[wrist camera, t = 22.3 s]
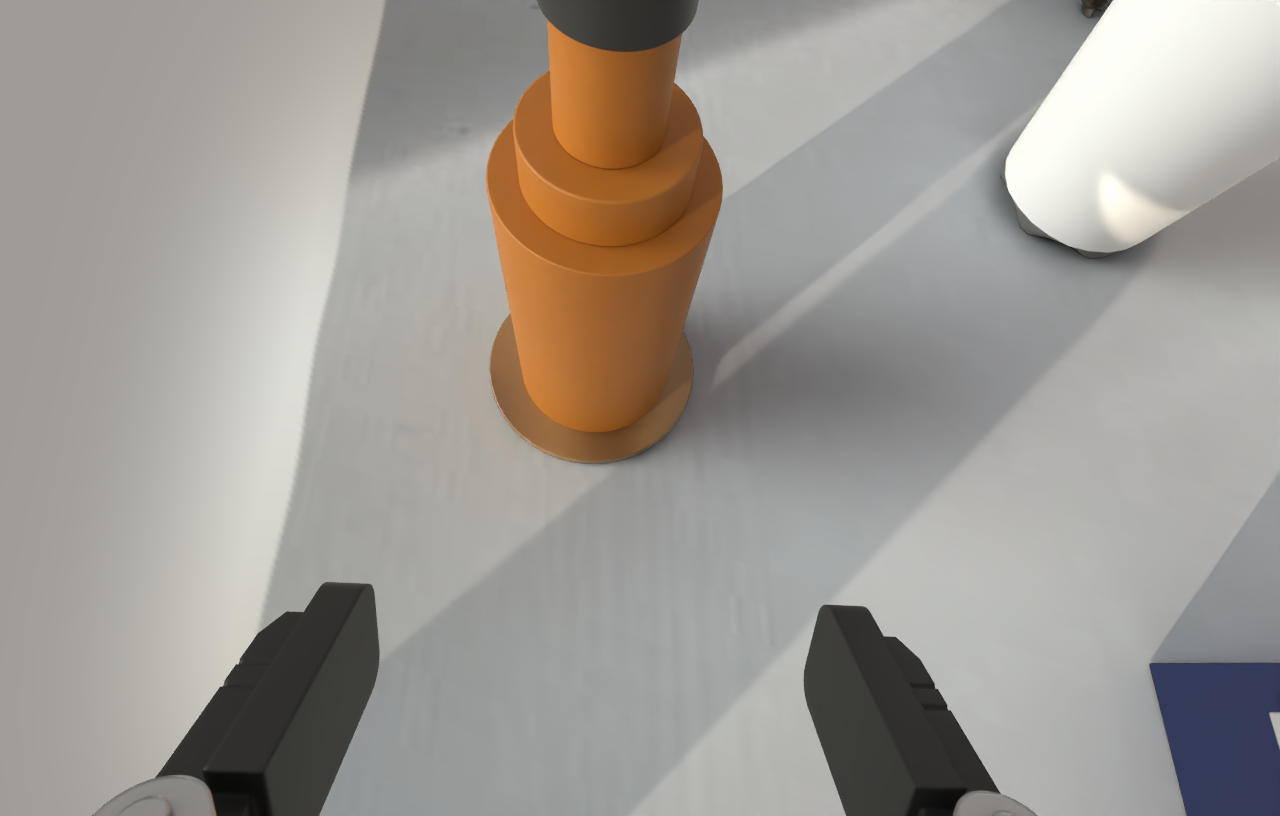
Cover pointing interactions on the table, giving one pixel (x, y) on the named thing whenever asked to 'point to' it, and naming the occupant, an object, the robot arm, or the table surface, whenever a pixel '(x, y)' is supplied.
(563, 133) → the bottle
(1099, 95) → the cup
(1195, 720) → the case
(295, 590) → the table surface
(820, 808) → the table surface
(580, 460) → the coaster
